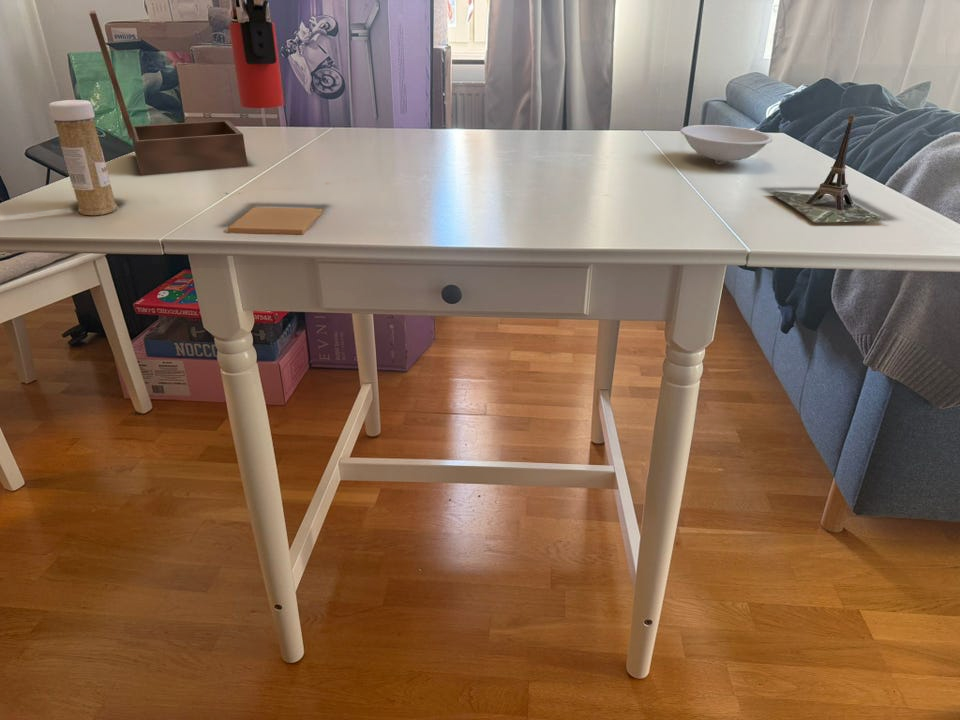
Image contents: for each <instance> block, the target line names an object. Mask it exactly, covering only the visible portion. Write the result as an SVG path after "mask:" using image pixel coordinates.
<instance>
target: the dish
mask: <svg viewBox="0 0 960 720" xmlns="http://www.w3.org/2000/svg"><path fill="white" fill-rule="evenodd" d="M680 134H681V135H683V136H684V138H685V140H686V142H687V143H688V145H689V146H690V148H691V149H692V150H694V151H695V152H696V153H697V154H699V155H700V156H703V157H705V158H707V159H710V160H711V159H712V160H714V162H715V164H718V165H725V164H726V163H727V162H734V161H741V160H746V159H748V158H750V157H752V156H754V155H755V154H757V153H758V152H760V151H761V150H762V149H763V148H764V147H766V145H767V144H771V143H772V142H773V139H774V138H773V136H771V135H770V134H768V133H766V132H763V131H759V130H756V129H750V128H747V127H740V126H731V125H722V124H721V125H720V124H694V125H687V126H683V127H682V128H681V129H680Z"/></svg>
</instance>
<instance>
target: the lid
mask: <svg viewBox="0 0 960 720" xmlns="http://www.w3.org/2000/svg"><path fill="white" fill-rule="evenodd" d="M88 13H89V17H90V20H91V23H92V26H93V30H94V32H95V36H96V39H97V42H98V45H99V47H100V52H101V54H102V57H103V60H104V63H105V67H106V69H107V73H108V76H109V79H110V82H111V86H112V88H113V92H114V94H115V97H116V100H117V103H118V107H119V109H120V114H121V117H122V119H123V122H124V125H125V129H126V131H127V134H128V137H129V139H131V140H132V138H135V134H134V131H133V128H132V126H133V125H132V121H131V119H130V116H129V112H128V109H127V106H126V103H125V100H124V97H123V94H122V90H121V86H120V84H119V81H118V78H117V75H116V72H115V68H114V65H113V62H112V59H111V56H110V52H109V49H108V47H107V42H106V40H105V36H104V34H103V30H102V28H101V27H102V26H101V25H100V22H99V21H100V20H99V18H98V15H97V12H96V10H89V12H88Z"/></svg>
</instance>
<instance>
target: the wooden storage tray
mask: <svg viewBox="0 0 960 720" xmlns="http://www.w3.org/2000/svg"><path fill="white" fill-rule="evenodd" d="M132 128H133V131H134V134H135V138H131V141H132V145H133V146H132V147H133V150H134V155H135V158H136V161H137V166H138V170H139V173H140V176H153V175H165V174H177V173H187V172H198V171H200V172H201V171H209V170H221V169H232V168H244V167H245V168H247V167H248V166H249V165H248V157H247V151H246V144H245V139H244V134H243V132H241V131H240V130H239V129H238V128H237V127H236V126H235V125H234V124H233V123H232V122H230V121H229V119H225V120H224V119H223V120H207V121H192V122H177V123H175V122H174V123H159V124H142V125H132Z"/></svg>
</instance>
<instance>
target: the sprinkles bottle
mask: <svg viewBox="0 0 960 720" xmlns="http://www.w3.org/2000/svg"><path fill="white" fill-rule="evenodd" d="M48 107H49V112H50V115H51V119H52V120H54V121H53V123H54V124H55V127H56V131H57V134H58V138H59V142H60V148H61V152H62V156H63V158H64V162H65V165H66V169H67V173H68V175H69V180H70V184H71V187H72V189H73V191H74V195H75V199H76V202H77V206H78V209H77V210H78V213H79V214H81V215H84V216H103V215H107V214H111V213H113V212H115V211H116V210H117V209H118V204H117V202H116V200H115V197H114V192H113V188H112V185H111V179H110V175H109V172H108V168H107V164H106V160H105V157H104V156H105V155H104V153H103V148H102V146H101V143H100V139H99V134H98V130H97V126H96V123H95V116H96V115H95V111H94V107H93V104H92V102H91V101H90V100H87V99H86V100H85V99H66V100H57V101H52V102H50V103H49V104H48Z"/></svg>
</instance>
